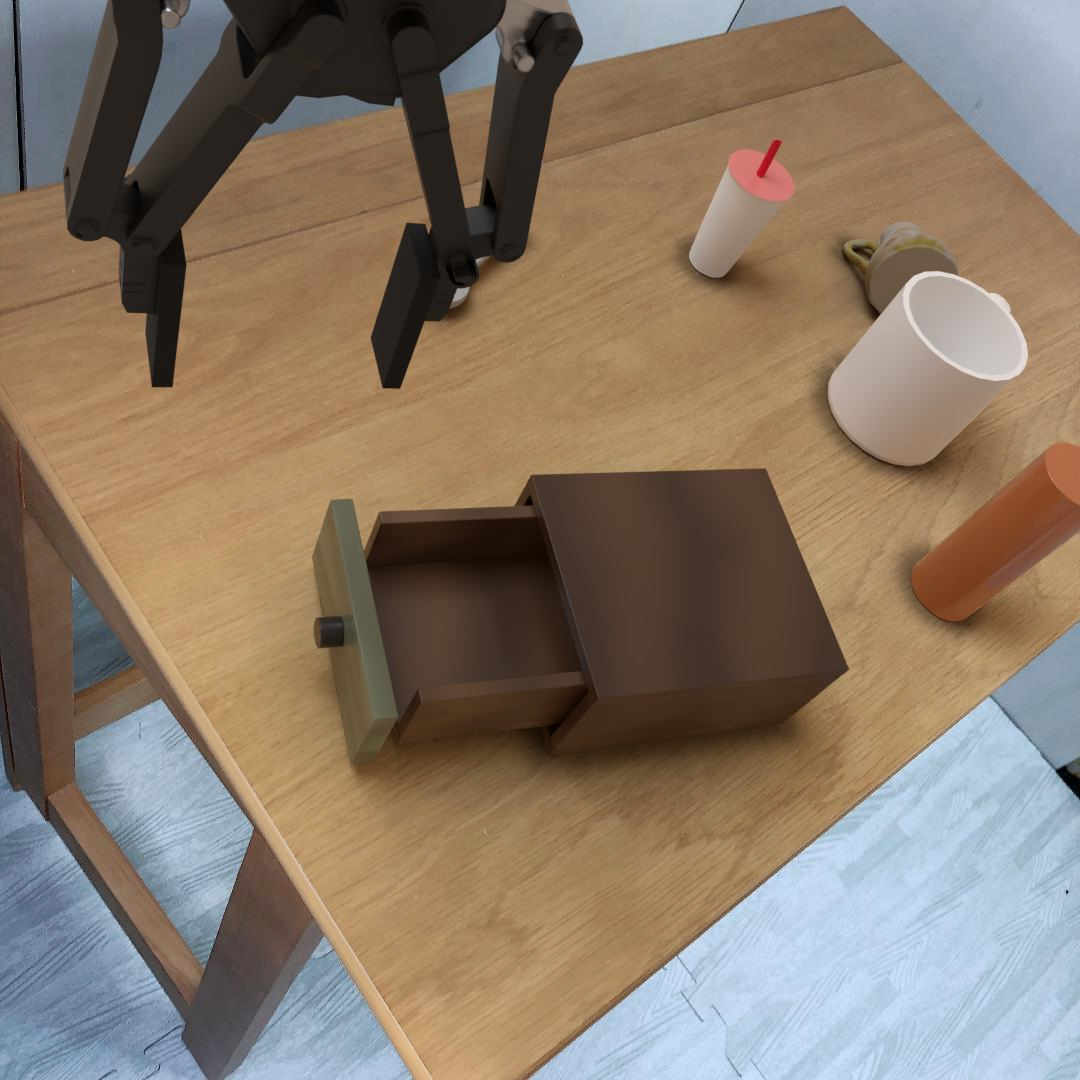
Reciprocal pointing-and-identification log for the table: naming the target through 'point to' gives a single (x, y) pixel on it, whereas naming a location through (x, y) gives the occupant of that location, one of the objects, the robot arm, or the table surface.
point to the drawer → (442, 625)
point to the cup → (740, 209)
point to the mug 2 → (926, 368)
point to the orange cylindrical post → (1003, 537)
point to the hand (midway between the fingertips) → (276, 360)
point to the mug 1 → (898, 260)
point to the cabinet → (681, 604)
